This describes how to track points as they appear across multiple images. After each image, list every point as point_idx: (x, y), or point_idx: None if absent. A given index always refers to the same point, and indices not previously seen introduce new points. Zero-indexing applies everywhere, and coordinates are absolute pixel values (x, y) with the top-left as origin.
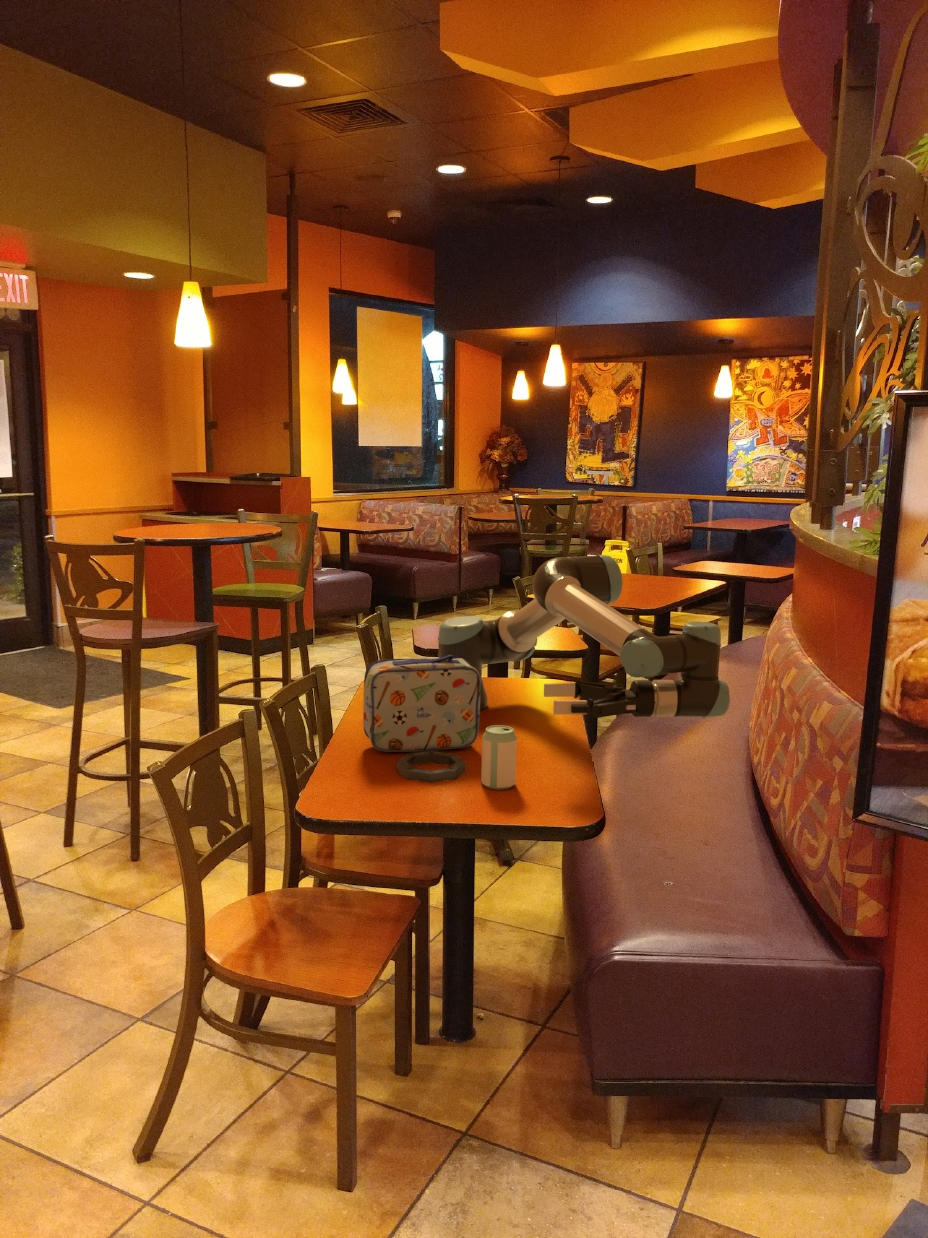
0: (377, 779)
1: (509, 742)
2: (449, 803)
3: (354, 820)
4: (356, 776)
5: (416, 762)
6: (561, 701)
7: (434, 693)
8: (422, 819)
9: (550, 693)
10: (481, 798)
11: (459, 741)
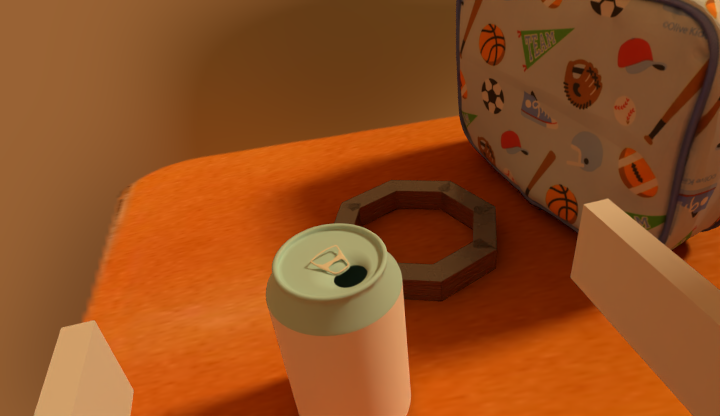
0: (330, 189)
1: (278, 322)
2: (195, 323)
3: (115, 217)
4: (339, 165)
5: (445, 208)
6: (48, 377)
7: (565, 63)
8: (98, 300)
9: (601, 288)
10: (232, 382)
11: None
